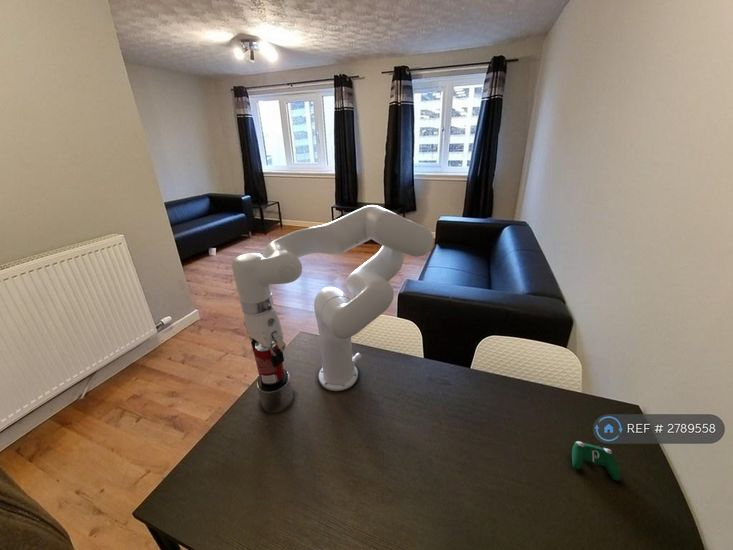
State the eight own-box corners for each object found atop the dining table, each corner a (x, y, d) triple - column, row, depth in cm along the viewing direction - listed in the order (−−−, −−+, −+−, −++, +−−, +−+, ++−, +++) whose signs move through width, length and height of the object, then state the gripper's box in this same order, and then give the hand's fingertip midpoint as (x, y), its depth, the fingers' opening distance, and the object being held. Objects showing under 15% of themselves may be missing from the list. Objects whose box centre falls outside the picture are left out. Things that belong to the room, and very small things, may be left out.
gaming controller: (613, 478, 70) (613, 449, 72) (622, 482, 67) (621, 452, 69) (568, 465, 73) (568, 438, 75) (574, 469, 70) (574, 440, 71)
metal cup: (280, 383, 96) (276, 361, 92) (299, 397, 91) (295, 375, 87) (255, 402, 89) (249, 379, 85) (274, 418, 84) (268, 395, 80)
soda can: (278, 388, 82) (271, 353, 77) (255, 384, 84) (247, 350, 78) (288, 370, 88) (283, 337, 83) (267, 367, 90) (260, 334, 84)
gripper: (291, 307, 73) (300, 362, 80) (250, 286, 82) (261, 338, 90) (265, 321, 67) (276, 379, 75) (224, 298, 77) (238, 351, 85)
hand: (268, 356), depth 83 cm, fingers open, 8 cm apart
